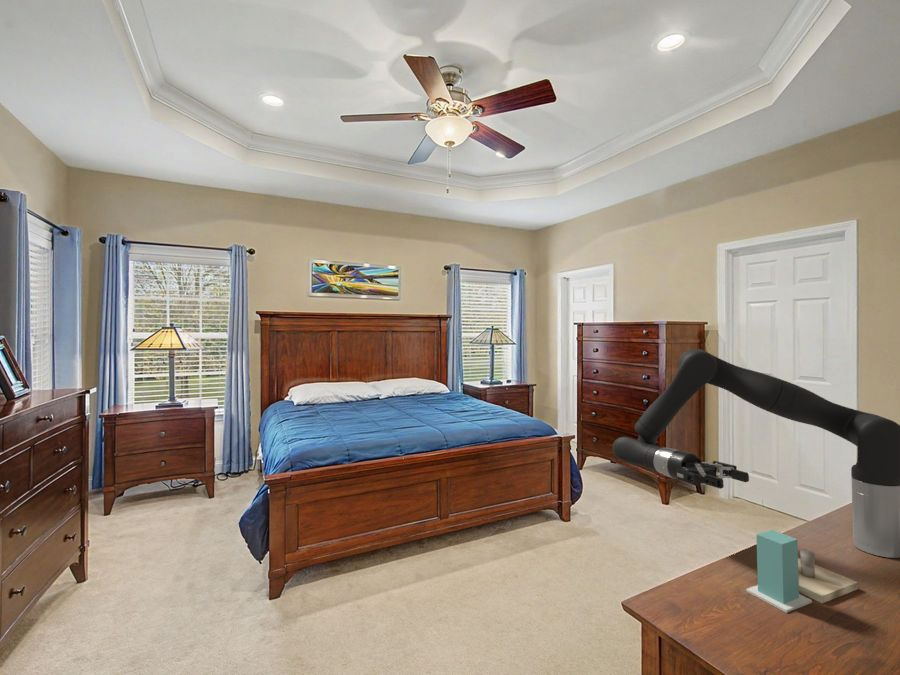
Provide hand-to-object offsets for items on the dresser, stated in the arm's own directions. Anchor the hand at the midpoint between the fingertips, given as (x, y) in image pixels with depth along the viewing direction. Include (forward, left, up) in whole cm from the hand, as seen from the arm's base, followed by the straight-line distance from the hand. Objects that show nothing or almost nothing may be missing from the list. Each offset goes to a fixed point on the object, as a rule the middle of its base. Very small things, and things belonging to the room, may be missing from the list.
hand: (735, 480), depth 103 cm
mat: (+3, +11, -20) cm, 23 cm away
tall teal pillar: (+3, +11, -20) cm, 23 cm away
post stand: (-8, +10, -20) cm, 24 cm away
